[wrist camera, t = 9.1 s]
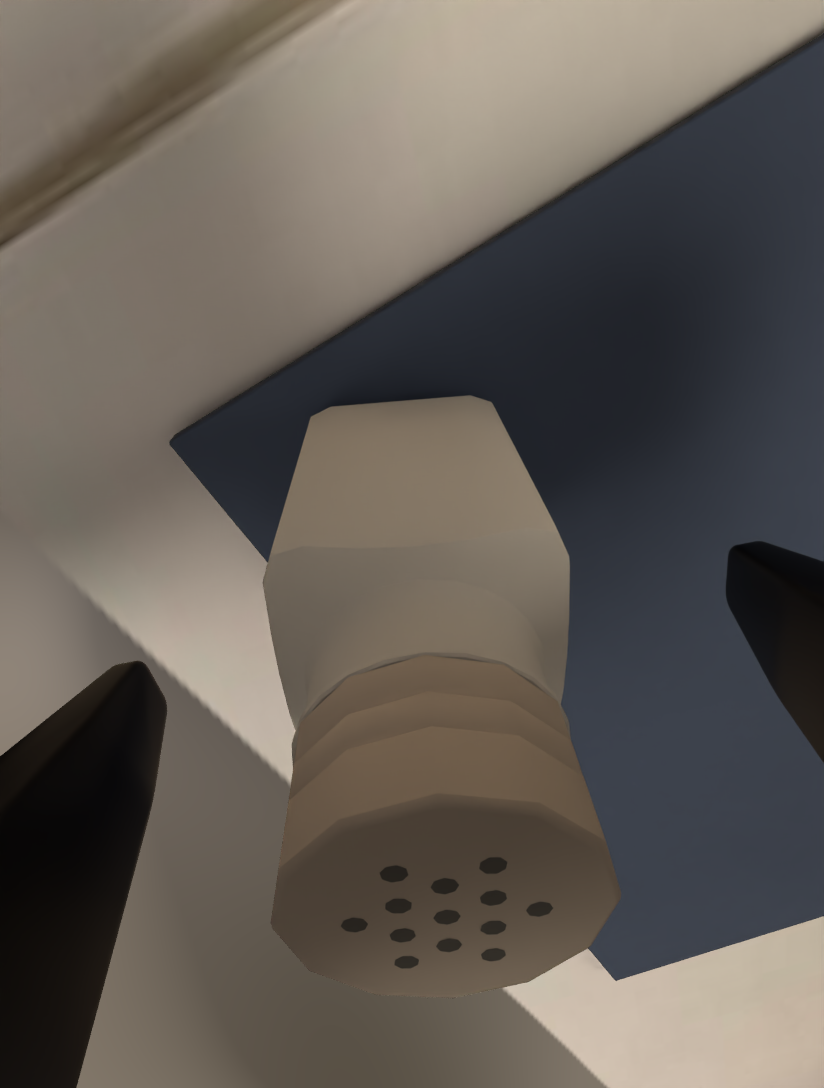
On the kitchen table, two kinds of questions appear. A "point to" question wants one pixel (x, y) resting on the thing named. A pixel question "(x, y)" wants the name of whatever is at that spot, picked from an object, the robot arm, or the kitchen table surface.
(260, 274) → the kitchen table surface
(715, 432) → the mat
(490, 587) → the salt shaker
